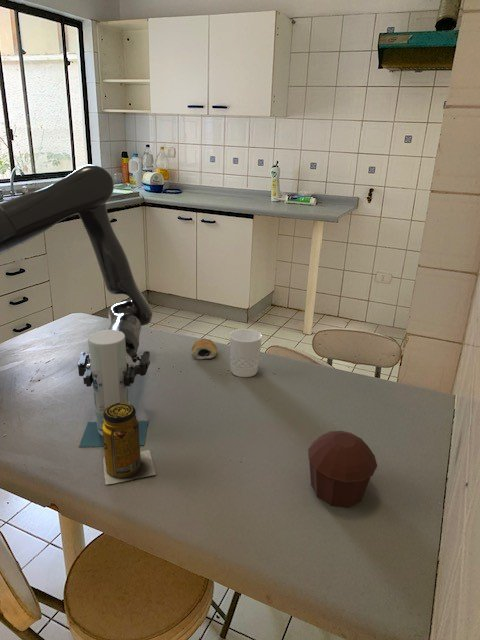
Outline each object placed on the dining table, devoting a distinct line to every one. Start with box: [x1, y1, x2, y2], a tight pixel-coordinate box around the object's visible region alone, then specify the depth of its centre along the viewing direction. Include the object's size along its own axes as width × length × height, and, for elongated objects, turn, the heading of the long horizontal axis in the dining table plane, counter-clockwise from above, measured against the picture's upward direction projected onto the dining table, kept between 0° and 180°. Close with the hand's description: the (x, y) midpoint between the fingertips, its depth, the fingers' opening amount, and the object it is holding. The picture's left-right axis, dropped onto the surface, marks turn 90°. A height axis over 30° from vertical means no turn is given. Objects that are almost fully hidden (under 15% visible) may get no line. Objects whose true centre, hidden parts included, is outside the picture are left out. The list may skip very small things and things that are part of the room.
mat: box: [78, 420, 149, 448], centre depth 91 cm, size 12×8×1 cm, turn 95°
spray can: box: [87, 329, 130, 435], centre depth 88 cm, size 6×6×20 cm
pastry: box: [191, 337, 218, 360], centre depth 125 cm, size 9×7×4 cm
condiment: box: [102, 403, 157, 486], centre depth 80 cm, size 7×8×12 cm
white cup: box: [229, 328, 263, 378], centre depth 115 cm, size 8×8×10 cm
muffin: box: [307, 430, 378, 508], centre depth 77 cm, size 12×11×10 cm
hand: (107, 382), depth 85 cm, fingers closed on spray can, 6 cm apart
